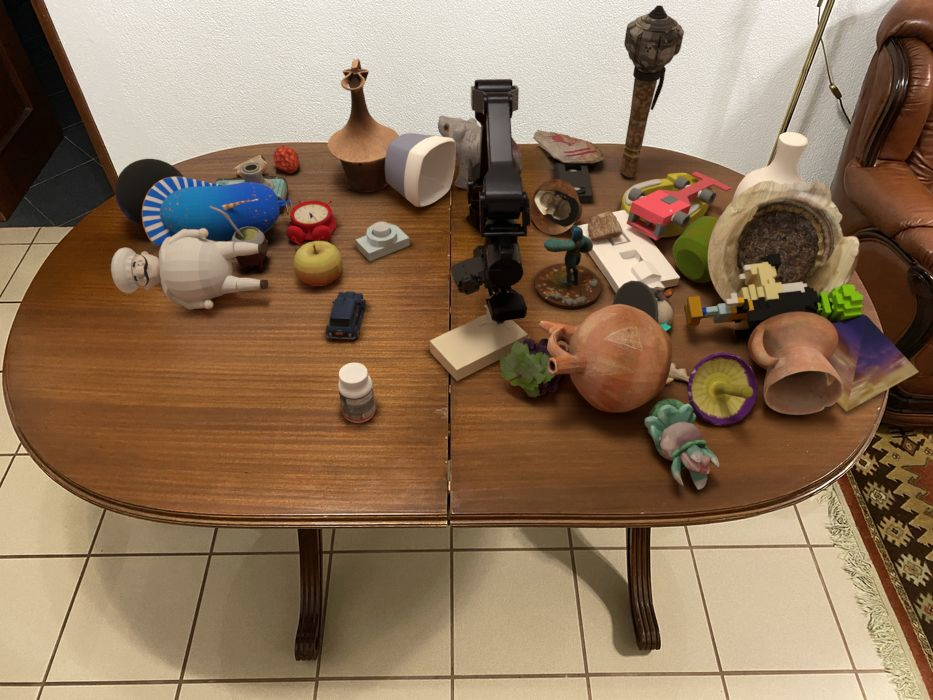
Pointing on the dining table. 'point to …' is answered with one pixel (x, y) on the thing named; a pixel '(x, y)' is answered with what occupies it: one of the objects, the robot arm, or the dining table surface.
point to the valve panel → (475, 345)
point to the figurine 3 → (647, 301)
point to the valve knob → (490, 315)
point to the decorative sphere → (140, 185)
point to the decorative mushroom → (722, 389)
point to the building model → (631, 258)
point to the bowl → (421, 167)
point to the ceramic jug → (797, 362)
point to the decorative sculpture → (866, 361)
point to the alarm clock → (311, 222)
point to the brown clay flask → (361, 138)
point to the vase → (779, 164)
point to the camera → (259, 180)
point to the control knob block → (381, 243)
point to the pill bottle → (356, 393)
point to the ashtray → (654, 185)
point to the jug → (612, 357)
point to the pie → (782, 237)
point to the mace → (647, 74)
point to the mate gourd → (250, 237)
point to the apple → (318, 263)
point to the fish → (677, 374)
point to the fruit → (530, 367)
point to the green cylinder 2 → (695, 249)
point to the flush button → (381, 229)
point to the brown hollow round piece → (555, 207)
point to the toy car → (346, 316)
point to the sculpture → (469, 146)
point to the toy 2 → (774, 300)
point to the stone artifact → (568, 148)
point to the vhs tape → (575, 179)
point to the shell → (256, 159)
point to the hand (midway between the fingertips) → (497, 315)
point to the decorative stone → (286, 159)
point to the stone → (603, 226)
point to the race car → (669, 204)
